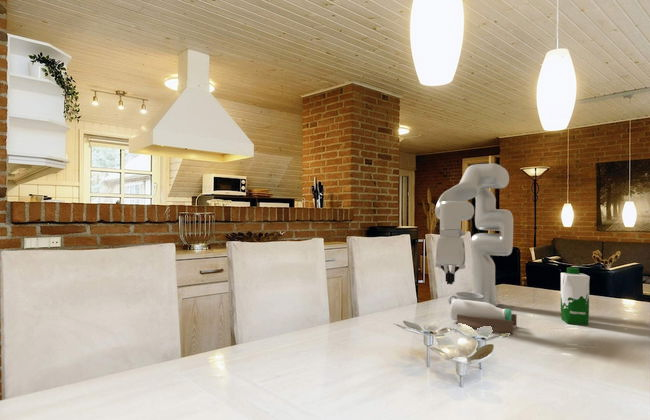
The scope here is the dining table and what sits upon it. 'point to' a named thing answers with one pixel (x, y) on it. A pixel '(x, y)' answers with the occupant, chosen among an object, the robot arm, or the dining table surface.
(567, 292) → the milk carton
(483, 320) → the cradle
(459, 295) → the teacup
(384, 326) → the dining table surface
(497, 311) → the milk bottle
